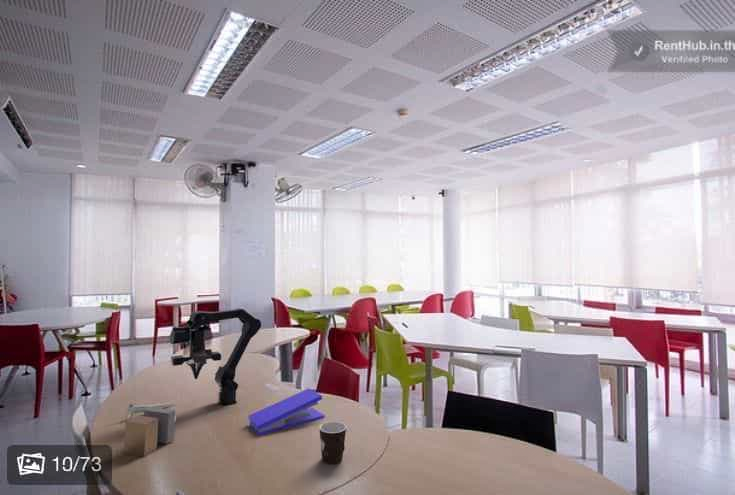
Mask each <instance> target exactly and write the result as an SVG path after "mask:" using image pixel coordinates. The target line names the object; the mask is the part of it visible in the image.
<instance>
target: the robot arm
mask: <svg viewBox="0 0 735 495" xmlns="http://www.w3.org/2000/svg"><path fill="white" fill-rule="evenodd" d="M232 319H238V320H239V321H240V322H241V323H242V324H243V325H242V327H241V334H240V336H239V339H238V340H237V342H236V344H235V346H234V348H233V350H232V351H231V353H230V356H229V358H228V359H227V361H226V363H225V364H223V366H218V369H217V371H216V372H215V373H214V375H215V376H214V381H215V383H216V384H217V385H218V387H219V391H218V394H217V402H218V403H219V404H220V405H221V407H223V406H228V405H233V404H237V403H238V401H237V400H236V399H237V398H236V396H237V390H238V388H239V384H238V383H237V382H236V381H235V378H236V369H237V366H238V364H239V363H240V361H241V359H242V356H243V355H244V353H245V351H246V349H247V347H248V345H249V343H250V341H251V339H252V338H253V337H255V335H257V333H258V332H259V331H260V329H261V328H262V322H261V320H260V319H258V318H256V317H254V316H253V315H251V314H250V313H249V312H247V310H245V309H244V308H240V307H239V308H236V309H235V308H234V309H225V310H218V311H203V310H202V311H200V310H195V311H193V312H191V314H190V315H189V319H188V320H187V321H186V323H184V325H183V326H179V327H178V326H172V327H171V329H172V330H171V331H170V334H169V342H170V344H171V345H177V344H179V345H180V344H187V343H188V342H189V352H188V353H189V355H188V356H183V355H181V354H180V355H172V357H171V358H170V359H171V360H170V363H171V365H172V366H174V367H175V366H182V365H184V364H186V365H187V366H189V367H190V369H191V371H192V375H193V378H194V380H197V379H198V378H199V375H200V373H201V370H202V368H203V367H204V366H205V365H207V364H208V362H207V360H212V361H213V362H216V361H222V353H220V352H219V351H213V350H212V349H211V348H208V349H206V343H205V342H206V331H211V328H210V327H209V326H208V325H209V324H211V323H213V322H217V321H224V320H232Z"/></svg>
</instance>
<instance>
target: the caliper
mask: <svg viewBox="0 0 735 495" xmlns="http://www.w3.org/2000/svg"><path fill="white" fill-rule="evenodd" d="M176 405H177V404H176V403H174V402H167V403H160V404H150V405H145V404H141V405H136V404H135V403H133V404H132V403H130V404H129V406H128V407H127V409H126V412H125V420H126V421H127V420H130V419H132V418H134V417H136V416H137V413H139V414H141V413H142V414H143V413H144V410H146V409H148V408H150V407H155V408H162V409H168V408H170V407H173V406H176Z"/></svg>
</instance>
